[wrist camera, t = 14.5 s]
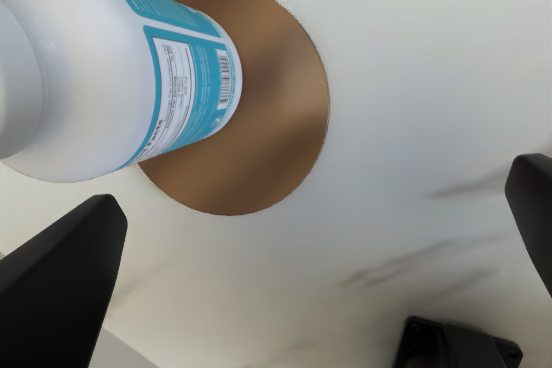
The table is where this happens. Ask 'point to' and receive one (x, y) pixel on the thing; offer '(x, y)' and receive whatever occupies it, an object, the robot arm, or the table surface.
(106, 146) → the pill bottle
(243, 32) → the disc
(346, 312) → the table surface
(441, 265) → the table surface
